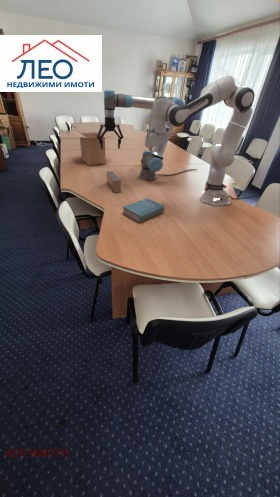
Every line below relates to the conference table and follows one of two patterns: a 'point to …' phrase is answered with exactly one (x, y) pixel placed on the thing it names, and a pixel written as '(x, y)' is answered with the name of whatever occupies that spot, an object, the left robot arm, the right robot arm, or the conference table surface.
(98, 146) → the box
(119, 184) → the bar
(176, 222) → the conference table surface
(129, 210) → the book
